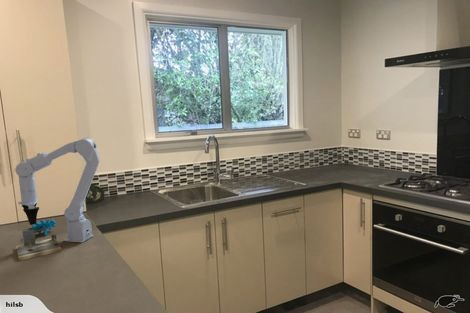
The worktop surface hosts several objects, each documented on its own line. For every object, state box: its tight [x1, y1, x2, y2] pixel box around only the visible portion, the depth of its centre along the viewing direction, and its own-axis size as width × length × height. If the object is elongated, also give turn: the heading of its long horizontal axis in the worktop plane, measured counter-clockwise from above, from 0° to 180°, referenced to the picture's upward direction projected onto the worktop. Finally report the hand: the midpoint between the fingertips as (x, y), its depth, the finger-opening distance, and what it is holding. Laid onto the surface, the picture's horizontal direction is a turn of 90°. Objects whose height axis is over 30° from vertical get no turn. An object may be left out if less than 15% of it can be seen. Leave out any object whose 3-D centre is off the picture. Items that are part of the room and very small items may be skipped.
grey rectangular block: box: [21, 227, 36, 248], centre depth 142 cm, size 4×7×6 cm, turn 34°
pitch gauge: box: [15, 233, 62, 262], centre depth 143 cm, size 14×15×4 cm
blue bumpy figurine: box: [31, 218, 57, 237], centre depth 161 cm, size 11×6×10 cm
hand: (32, 222), depth 150 cm, fingers open, 7 cm apart
